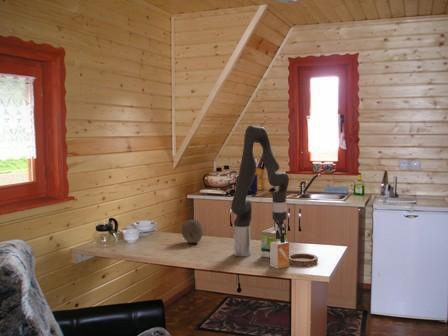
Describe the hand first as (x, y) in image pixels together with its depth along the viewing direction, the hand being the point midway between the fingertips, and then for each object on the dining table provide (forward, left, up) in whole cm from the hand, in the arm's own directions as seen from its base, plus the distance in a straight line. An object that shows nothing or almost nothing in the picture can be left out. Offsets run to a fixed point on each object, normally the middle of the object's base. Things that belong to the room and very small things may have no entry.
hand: (280, 240), depth 260 cm
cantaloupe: (-41, +62, -14) cm, 76 cm away
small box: (0, 0, -14) cm, 14 cm away
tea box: (+3, +23, -14) cm, 27 cm away
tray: (+14, +5, -14) cm, 20 cm away
